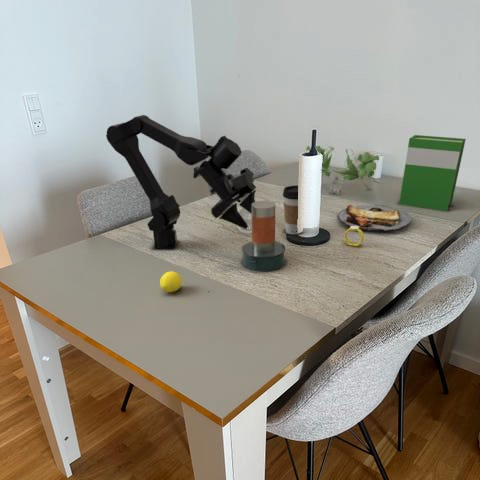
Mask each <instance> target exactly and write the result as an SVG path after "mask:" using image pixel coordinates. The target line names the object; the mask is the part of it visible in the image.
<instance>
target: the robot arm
mask: <svg viewBox="0 0 480 480" xmlns="http://www.w3.org/2000/svg"><path fill="white" fill-rule="evenodd" d="M140 134H142V135H144V136H146V137H147V138H149V139H152V140H153V141H155V142H157V143H158V144H160V145H162V146H164V147H166V148H167V149H169V150H171V151H172V152H173V153H174V154H175V155H176V157H177V158H178V159H179V160H180V161H182V162H183V163H184V164H185V165H188V166H195V165H197V164H199V163H201V162H202V163H201V164H200V165H199V166H195V167H193V174H192V175H193V176H192V177H193V179H197V178H199V177H201V178H202V179H203V180H204V181H205V182H206V184H207V185H208V186H209V187H210V191H209V192H210V193H211V194H212V195H213V194H215V195H217V197H218V198H219V200H218V201H217V202H216V203H215V204H214V206H213V207H211V209H210V213H211V215H212V216H213V218H214V219H219V220H224V221H226V222H229V223H231V224H233V225H236V226H238V227H240V228H242V229H244V230H246V229H248V228H249V225H248V223H247V222H246V221H245V219H244V217H243V216H242V215H241V214H240V212H239V211H238V205H239V207H241V208H242V209H244V210H246V211H247V212H248V213H250V214H252V203H254V202H256V200H255V199H256V197H255V196H256V193H257V190H256V189H257V186H256V185H255V184H254V183H255V181H254V178H253V177H254V172H252V170H251V169H249V168H248V167H244V168H243V169H240V172H239V173H240V174H238V175H235V176H234V175H233V174H232V173H228V174H227V173H226V172H225V170H228V169H229V168H230V167H231V166H232V165H233V164H234V163H235V162H236V161H237V160H238V158H239V157H240V156H241V155H242V148H241V146H239V144H238V143H237V142H235V141H233V140H232V139H230V138H228V137H227V136H226V135H222V136H221V137H219V138H218V140H217V142H216V143H215V144H214V145H209V144H207V143H206V142H205V141H204V140H201V139H198V138H196V137H192V136H185V135H182V134H180V133H178V132H176V131H173V130H172V129H170V128H168V127H166V126H165V125H162V124H160V122H159V123H158V122H157V121H155V120H154V119H152V118H150V117H149V116H148V115H145V114H141V115H137V116H134V117H133V118H131V119H130V120H128V121H125V122H121V123H117V124H113V125H110V126H108V127H107V129H106V135H105V137H106V141H107V142H108V143H109V145H110V146H111V147H112V148H113V150H114V151H115V152H116V153H118V154H119V155H121V156H122V157H123V158H124V160H125V161H126V162H127V164H128V166H129V167H130V169H131V171H132V172H133V174H134V176H135V178H136V179H137V181H138V183H139V185H140V186H141V189H142V190H143V192H144V194H145V195H146V197H147V199H148V200H149V205H150V207H149V208H150V213H151V215H152V218H151V219H150V220H149V221H148V222H147V224H146V225H147V228H148V230H149V231H150V232H152V233H153V234H152V235H153V241H154V245H153V249H154V250H157V249H158V250H173V249H174V248H175V246H176V245H177V243H178V235H177V230H176V229H175V225H176V224H177V223H178V220H179V218H180V215H181V209H180V207H181V205H180V204H179V203H178V202H177V200H176V197H175V196H174V194H171V195H167V194H166V193H165V192H164V190H163V189H162V187H161V185H160V184H159V182H158V180H157V178H156V176H155V175H154V173H153V172H152V170H151V167H150V166H149V164H148V163H147V161H146V159H145V157H144V156H143V154H142V152H141V150H140V141H139V137H138V135H140ZM208 158H209V159H208ZM207 159H208V160H207ZM238 203H239V204H238Z"/></svg>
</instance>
